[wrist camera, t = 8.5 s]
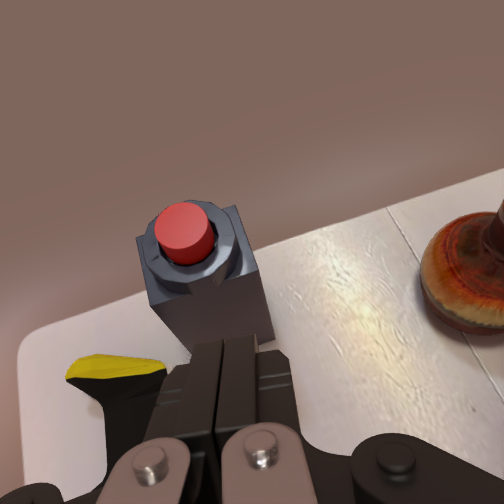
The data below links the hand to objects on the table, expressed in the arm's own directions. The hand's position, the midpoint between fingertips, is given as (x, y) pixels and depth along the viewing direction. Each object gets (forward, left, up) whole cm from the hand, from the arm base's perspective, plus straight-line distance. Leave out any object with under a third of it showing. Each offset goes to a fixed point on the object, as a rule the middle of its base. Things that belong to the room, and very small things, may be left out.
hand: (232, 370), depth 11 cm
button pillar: (+2, -14, -33) cm, 36 cm away
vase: (-22, -9, -33) cm, 41 cm away
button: (+2, -14, -15) cm, 21 cm away
